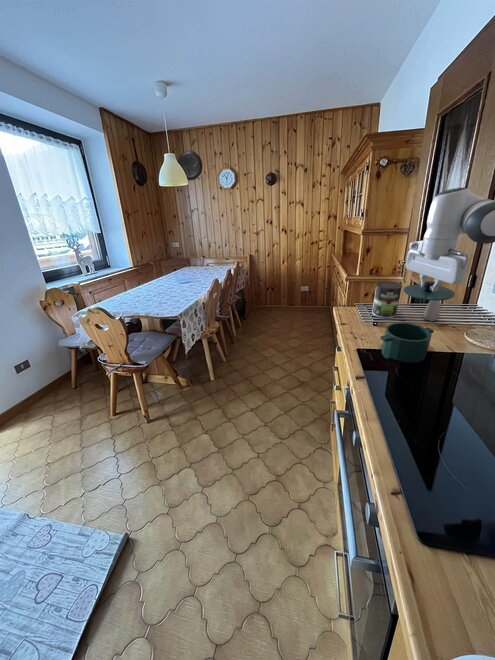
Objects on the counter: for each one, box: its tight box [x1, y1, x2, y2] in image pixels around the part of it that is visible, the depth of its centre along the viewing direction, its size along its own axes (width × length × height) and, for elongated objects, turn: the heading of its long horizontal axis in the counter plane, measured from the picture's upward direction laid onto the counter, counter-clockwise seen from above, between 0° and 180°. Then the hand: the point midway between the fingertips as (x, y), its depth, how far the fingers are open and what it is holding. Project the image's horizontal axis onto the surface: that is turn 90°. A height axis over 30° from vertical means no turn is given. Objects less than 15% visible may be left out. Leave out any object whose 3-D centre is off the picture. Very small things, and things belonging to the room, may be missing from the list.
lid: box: [402, 280, 455, 301], centre depth 93 cm, size 15×15×4 cm
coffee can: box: [371, 280, 403, 319], centre depth 128 cm, size 10×10×14 cm
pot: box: [379, 322, 434, 363], centre depth 98 cm, size 14×19×10 cm
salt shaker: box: [423, 300, 441, 322], centre depth 120 cm, size 6×6×13 cm
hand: (428, 289), depth 94 cm, fingers closed on lid, 2 cm apart
